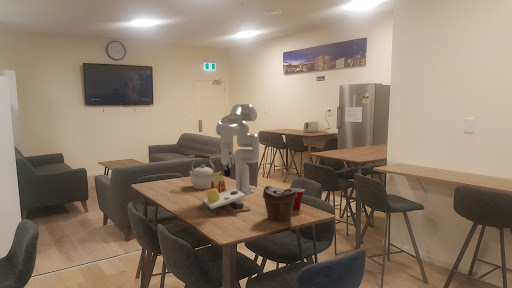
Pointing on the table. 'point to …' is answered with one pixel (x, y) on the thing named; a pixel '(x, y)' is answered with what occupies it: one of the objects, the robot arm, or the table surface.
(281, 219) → the brown flower pot
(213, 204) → the instrument plate
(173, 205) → the table surface
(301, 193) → the plastic cup
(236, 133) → the robot arm
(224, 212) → the leveling stand
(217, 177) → the milk carton
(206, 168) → the kettle
